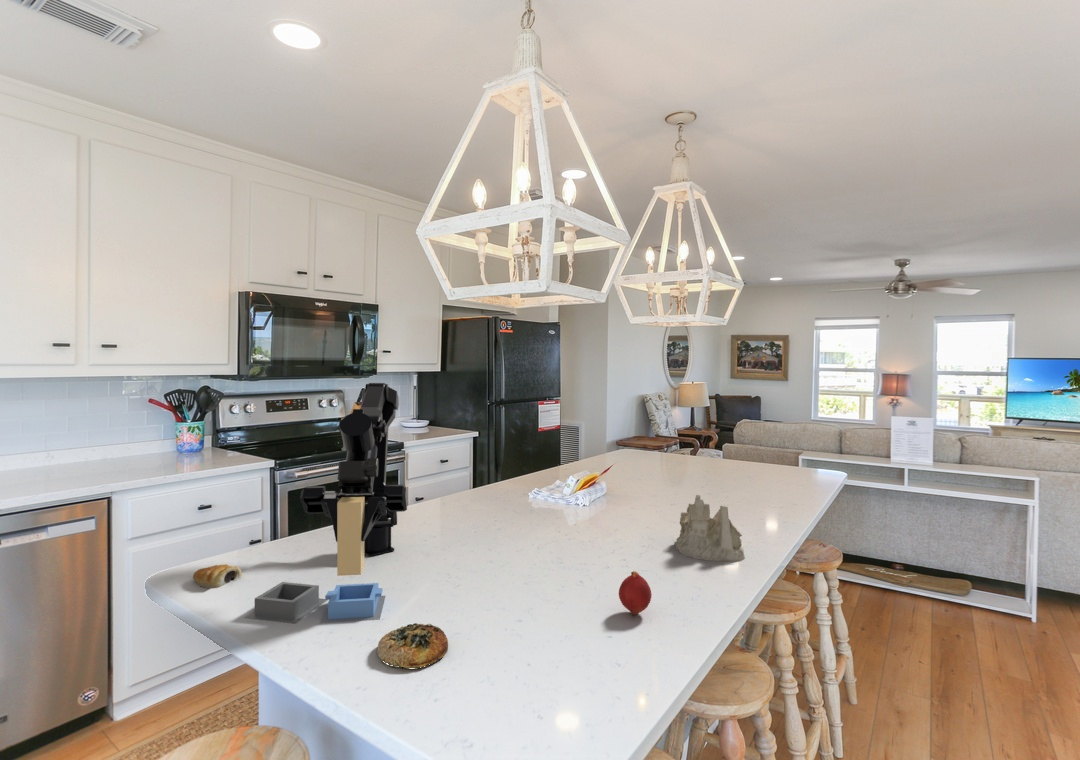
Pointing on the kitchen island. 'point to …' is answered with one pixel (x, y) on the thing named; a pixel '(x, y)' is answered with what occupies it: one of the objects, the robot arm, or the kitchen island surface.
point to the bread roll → (413, 646)
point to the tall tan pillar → (350, 536)
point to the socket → (287, 603)
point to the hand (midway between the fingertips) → (349, 540)
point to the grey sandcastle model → (709, 534)
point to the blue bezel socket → (354, 603)
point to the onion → (635, 593)
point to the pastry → (217, 575)
